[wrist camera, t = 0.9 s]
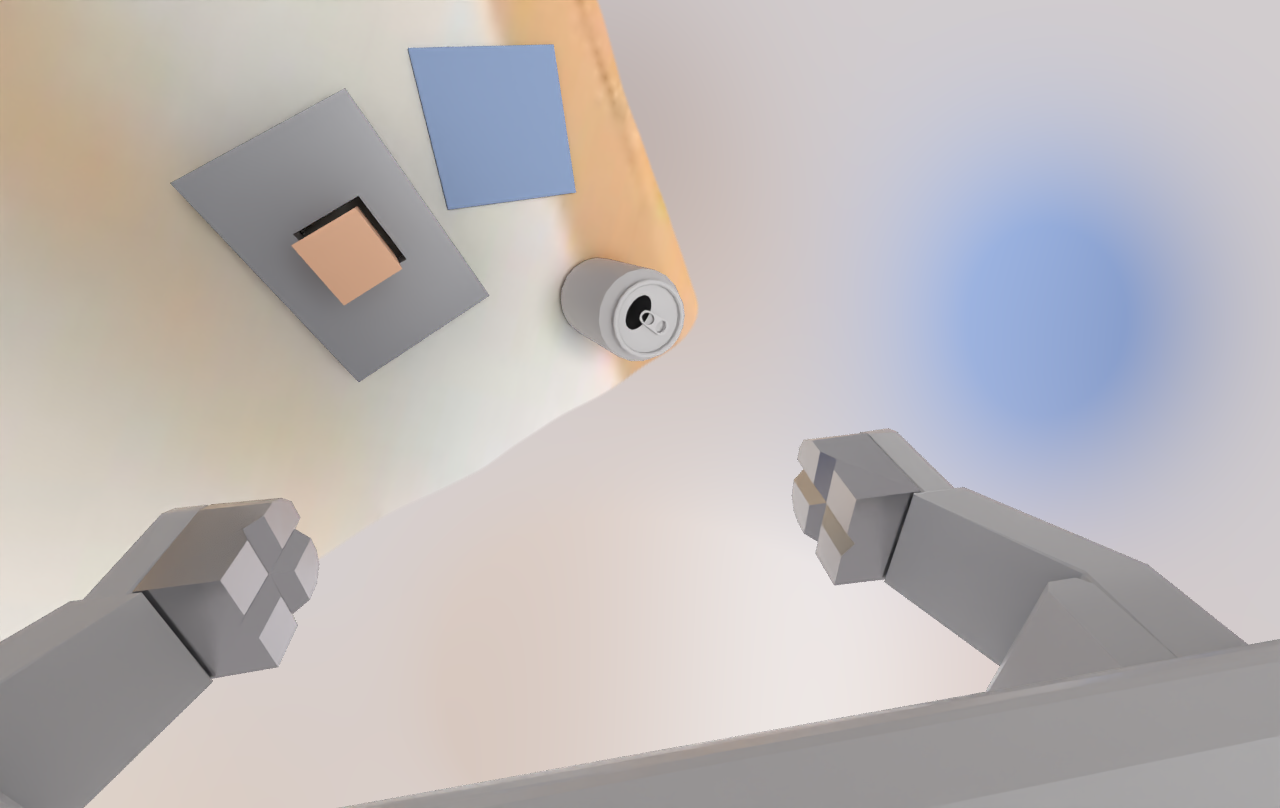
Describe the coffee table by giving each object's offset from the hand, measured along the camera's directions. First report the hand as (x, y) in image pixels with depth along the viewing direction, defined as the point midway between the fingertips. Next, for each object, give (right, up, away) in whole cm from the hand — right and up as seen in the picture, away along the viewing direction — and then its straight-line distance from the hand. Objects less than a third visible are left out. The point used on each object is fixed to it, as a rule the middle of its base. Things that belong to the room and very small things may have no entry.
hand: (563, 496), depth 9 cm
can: (-3, +12, +42) cm, 44 cm away
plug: (-21, +14, +32) cm, 40 cm away
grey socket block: (-21, +14, +32) cm, 40 cm away
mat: (-10, +24, +33) cm, 42 cm away
